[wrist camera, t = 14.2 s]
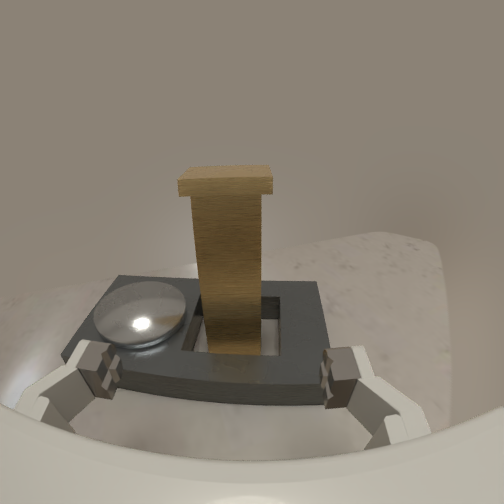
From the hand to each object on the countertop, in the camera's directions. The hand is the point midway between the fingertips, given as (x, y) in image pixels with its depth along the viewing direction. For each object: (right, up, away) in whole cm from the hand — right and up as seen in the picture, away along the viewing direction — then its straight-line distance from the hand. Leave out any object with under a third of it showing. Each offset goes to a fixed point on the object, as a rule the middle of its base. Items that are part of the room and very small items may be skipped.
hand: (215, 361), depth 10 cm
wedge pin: (0, -4, +13) cm, 14 cm away
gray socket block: (-3, -3, +13) cm, 14 cm away
